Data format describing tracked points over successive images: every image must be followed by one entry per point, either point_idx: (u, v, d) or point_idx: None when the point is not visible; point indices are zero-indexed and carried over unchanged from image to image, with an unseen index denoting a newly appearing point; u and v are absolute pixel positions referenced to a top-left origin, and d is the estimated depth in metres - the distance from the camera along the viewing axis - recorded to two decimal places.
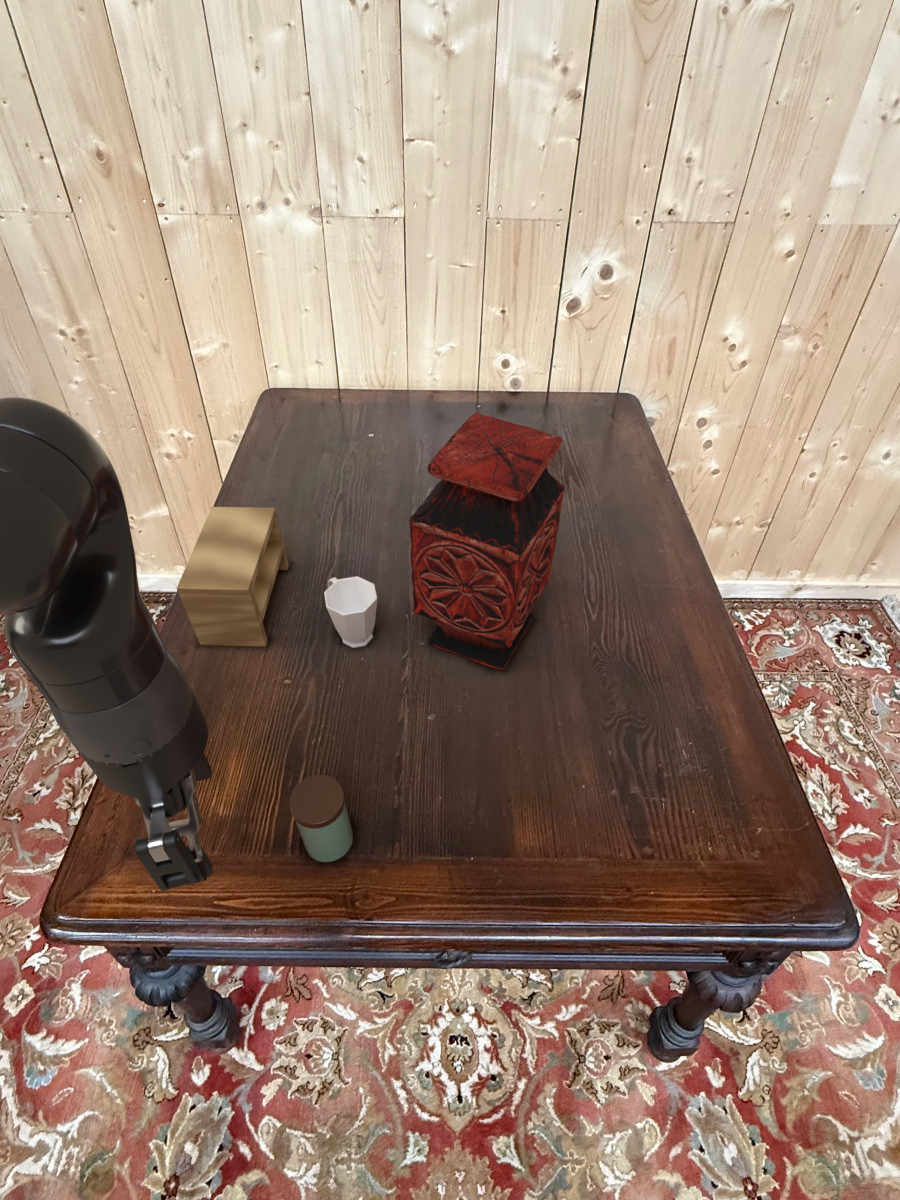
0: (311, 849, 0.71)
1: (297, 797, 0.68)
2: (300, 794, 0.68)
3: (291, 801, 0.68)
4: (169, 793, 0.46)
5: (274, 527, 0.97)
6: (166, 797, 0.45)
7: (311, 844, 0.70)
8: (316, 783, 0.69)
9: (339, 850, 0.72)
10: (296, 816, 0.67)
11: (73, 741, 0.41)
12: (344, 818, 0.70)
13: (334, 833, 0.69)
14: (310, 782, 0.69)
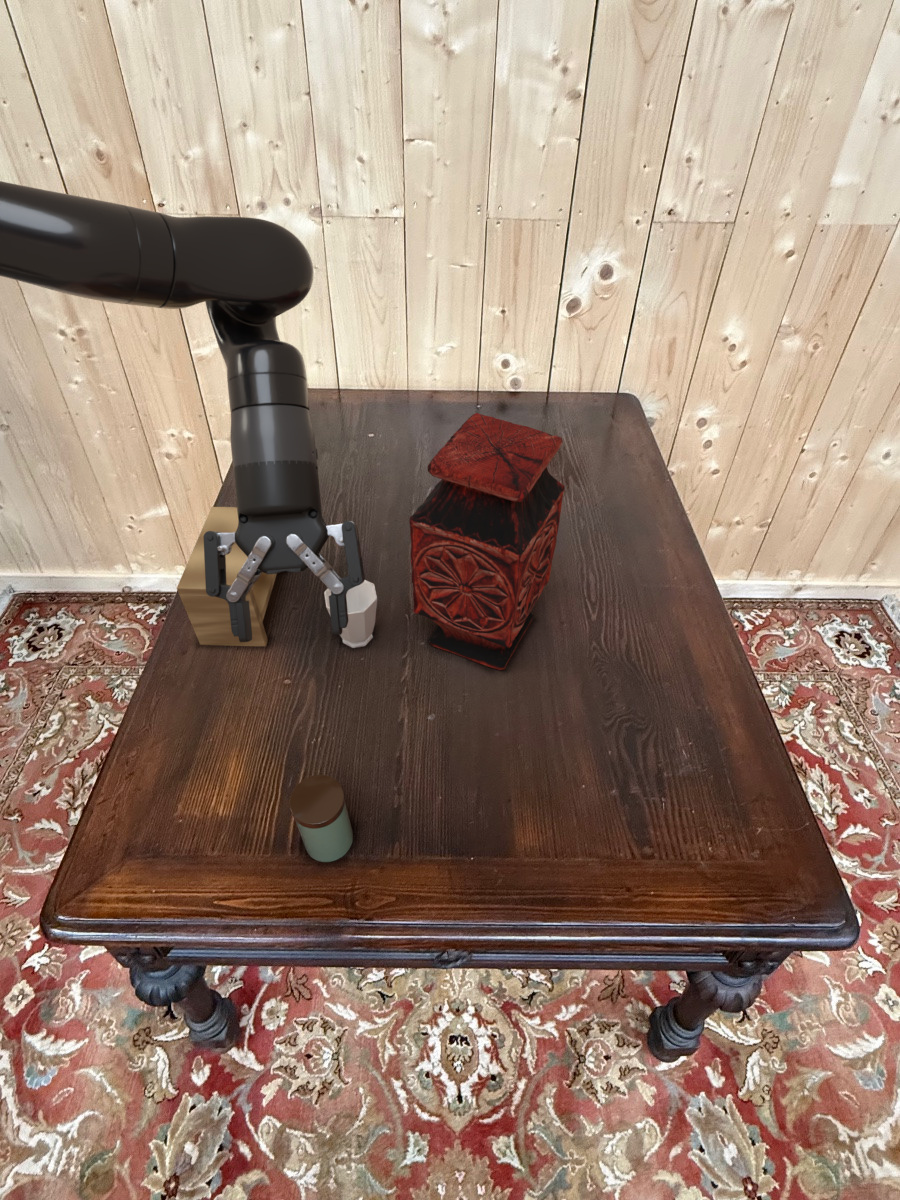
0: (311, 849, 0.71)
1: (297, 797, 0.68)
2: (300, 794, 0.68)
3: (291, 801, 0.68)
4: None
5: None
6: None
7: (311, 844, 0.70)
8: (316, 783, 0.69)
9: (339, 850, 0.72)
10: (296, 816, 0.67)
11: (298, 441, 0.61)
12: (344, 818, 0.70)
13: (334, 833, 0.69)
14: (310, 782, 0.69)
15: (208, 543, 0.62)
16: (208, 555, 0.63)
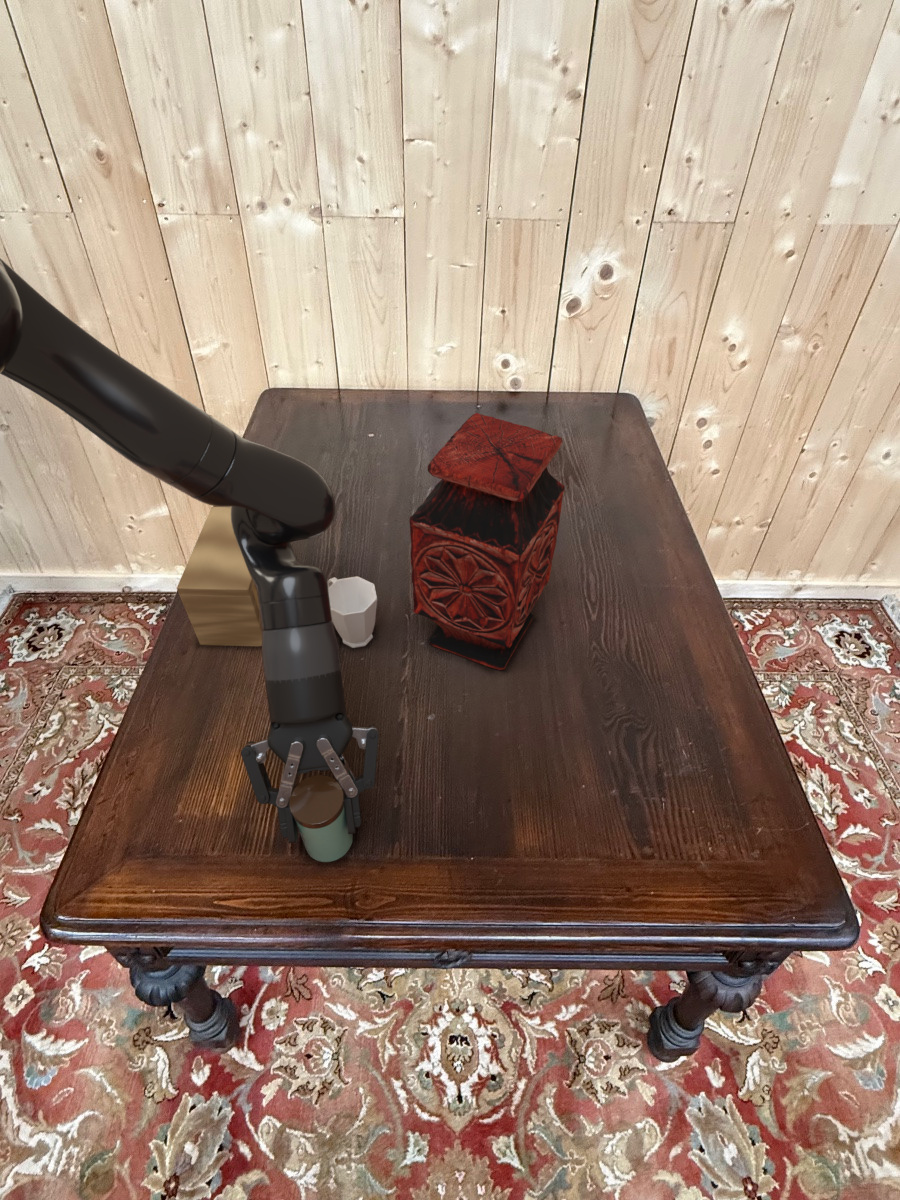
0: (311, 849, 0.71)
1: (297, 797, 0.68)
2: (300, 794, 0.68)
3: (291, 801, 0.68)
4: None
5: None
6: None
7: (311, 844, 0.70)
8: (316, 783, 0.69)
9: (339, 849, 0.72)
10: (296, 816, 0.67)
11: (326, 656, 0.67)
12: (344, 818, 0.70)
13: (334, 833, 0.69)
14: (310, 782, 0.69)
15: (247, 758, 0.68)
16: (250, 768, 0.68)
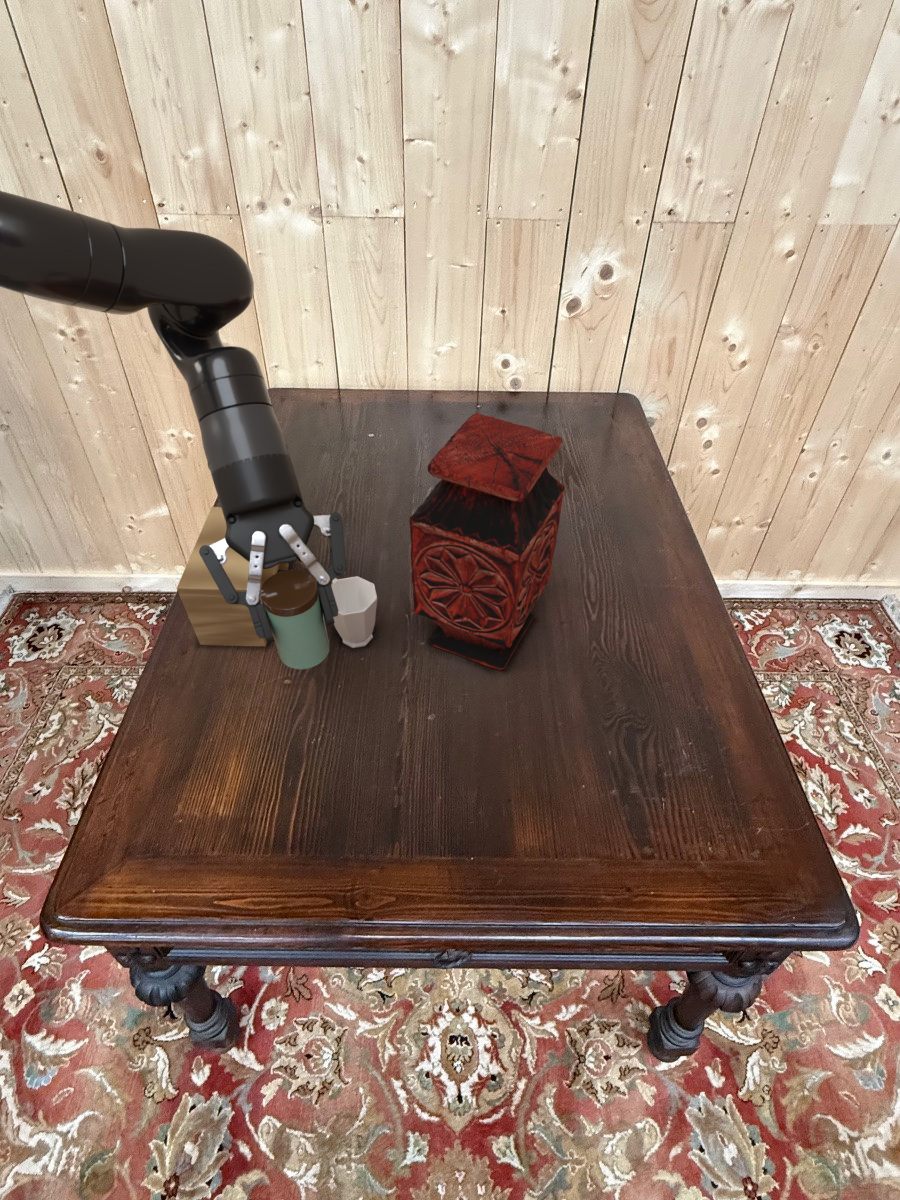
0: (290, 653, 0.68)
1: (268, 591, 0.65)
2: (270, 588, 0.65)
3: (262, 595, 0.64)
4: None
5: None
6: None
7: (290, 644, 0.67)
8: (284, 577, 0.66)
9: (319, 650, 0.69)
10: (271, 606, 0.63)
11: (274, 435, 0.64)
12: (320, 609, 0.67)
13: (312, 625, 0.66)
14: (278, 577, 0.66)
15: (206, 557, 0.64)
16: (212, 568, 0.64)
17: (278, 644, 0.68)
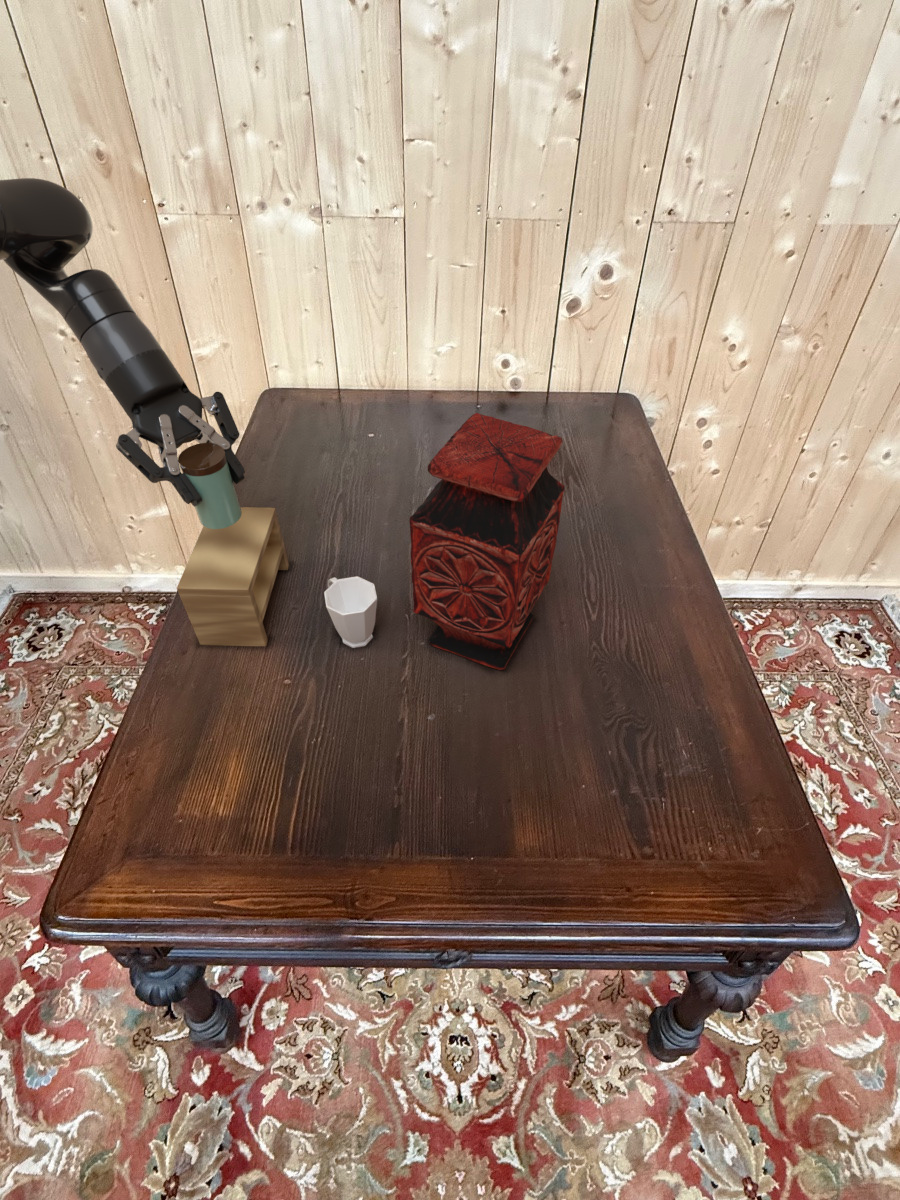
0: (214, 513, 0.83)
1: (185, 461, 0.79)
2: (186, 459, 0.80)
3: (182, 464, 0.79)
4: None
5: (274, 527, 0.97)
6: None
7: (214, 503, 0.82)
8: (193, 449, 0.81)
9: (236, 507, 0.85)
10: (194, 468, 0.78)
11: (151, 335, 0.78)
12: (229, 470, 0.83)
13: (228, 481, 0.82)
14: (188, 451, 0.81)
15: (126, 444, 0.77)
16: (134, 451, 0.77)
17: (202, 508, 0.83)
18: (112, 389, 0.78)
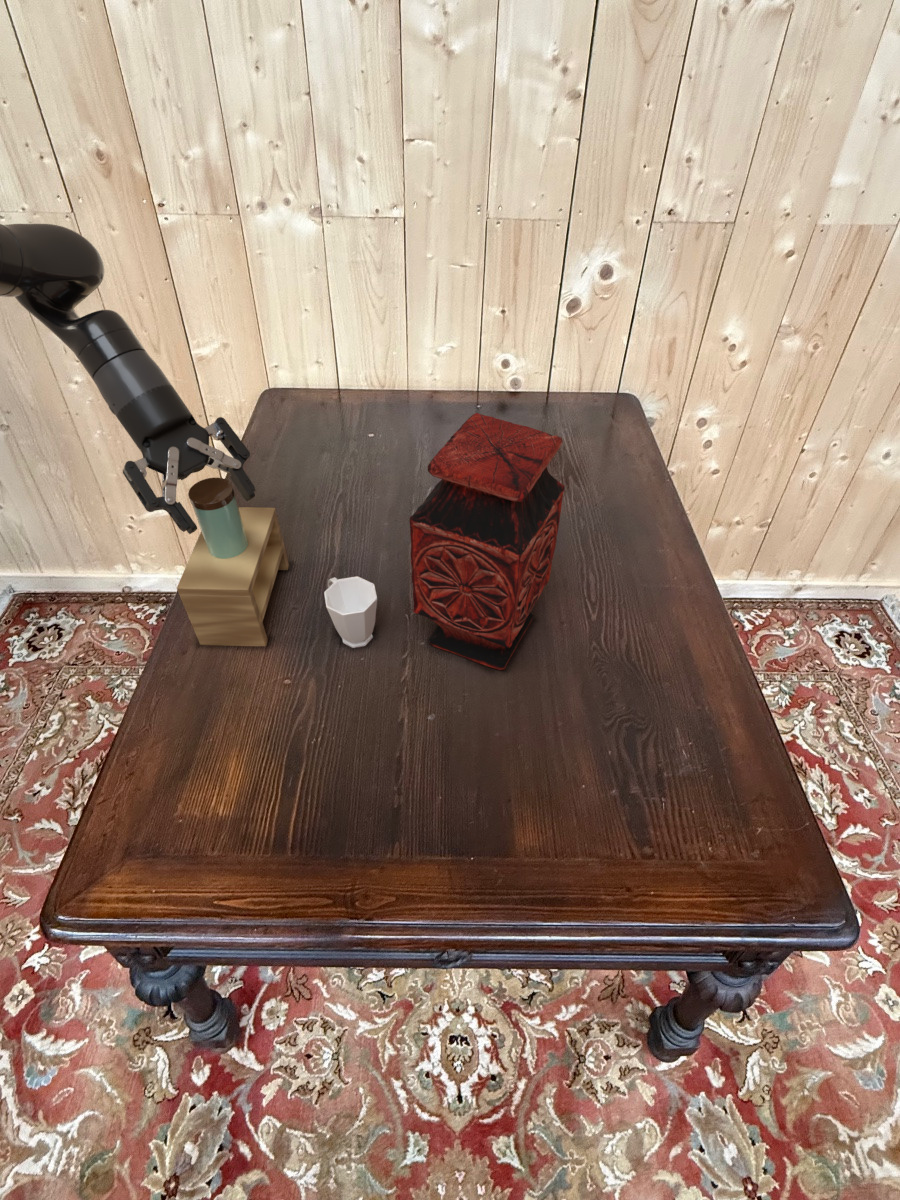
0: (223, 544, 0.87)
1: (195, 496, 0.84)
2: (196, 494, 0.84)
3: (192, 499, 0.83)
4: None
5: (274, 527, 0.97)
6: None
7: (222, 534, 0.86)
8: (202, 484, 0.85)
9: (243, 537, 0.89)
10: (204, 503, 0.83)
11: (160, 372, 0.82)
12: None
13: (236, 514, 0.86)
14: (197, 486, 0.85)
15: (131, 470, 0.80)
16: (137, 478, 0.80)
17: (211, 540, 0.87)
18: (123, 423, 0.81)
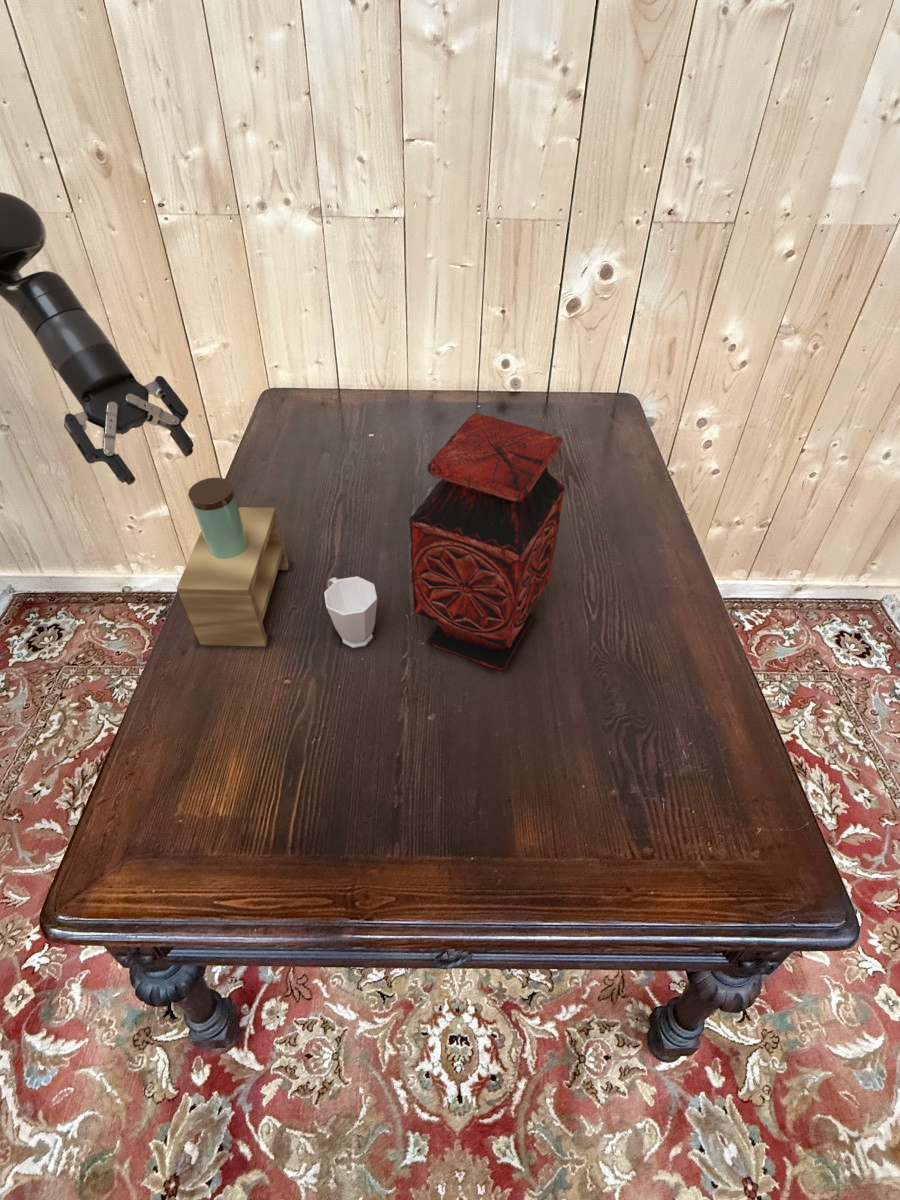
0: (223, 544, 0.87)
1: (195, 496, 0.84)
2: (196, 494, 0.84)
3: (192, 499, 0.83)
4: None
5: (274, 527, 0.97)
6: None
7: (222, 534, 0.86)
8: (202, 484, 0.85)
9: (243, 537, 0.89)
10: (204, 503, 0.83)
11: (99, 331, 0.87)
12: None
13: (236, 514, 0.86)
14: (197, 486, 0.85)
15: (71, 422, 0.85)
16: (76, 430, 0.85)
17: (211, 540, 0.87)
18: (64, 379, 0.86)
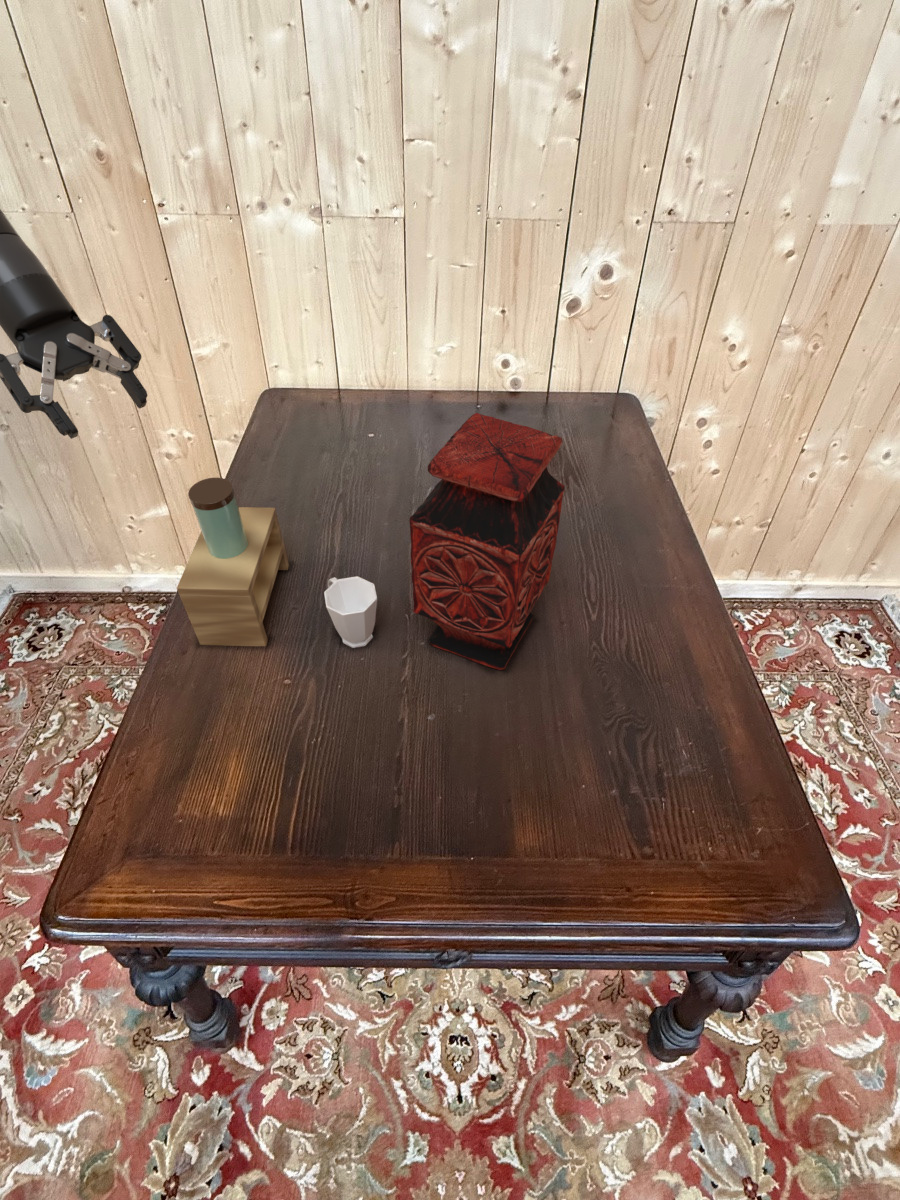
0: (223, 544, 0.87)
1: (195, 496, 0.84)
2: (196, 494, 0.84)
3: (192, 499, 0.83)
4: None
5: (274, 527, 0.97)
6: None
7: (222, 534, 0.86)
8: (202, 484, 0.85)
9: (243, 537, 0.89)
10: (204, 503, 0.83)
11: (35, 260, 0.75)
12: None
13: (236, 514, 0.86)
14: (197, 486, 0.85)
15: (1, 364, 0.73)
16: (7, 373, 0.74)
17: (211, 540, 0.87)
18: None
